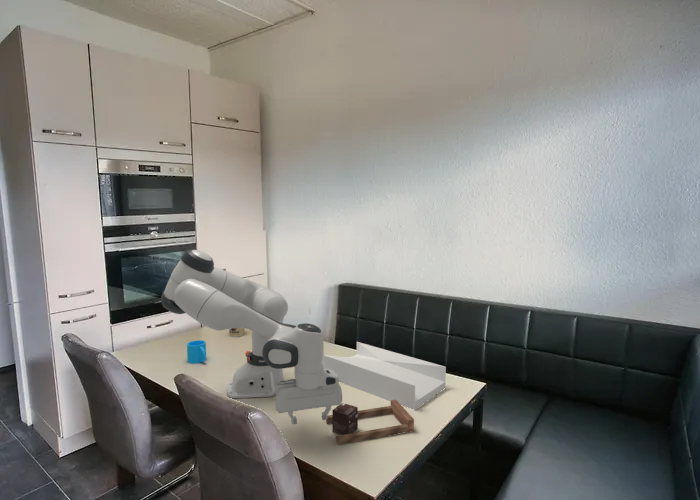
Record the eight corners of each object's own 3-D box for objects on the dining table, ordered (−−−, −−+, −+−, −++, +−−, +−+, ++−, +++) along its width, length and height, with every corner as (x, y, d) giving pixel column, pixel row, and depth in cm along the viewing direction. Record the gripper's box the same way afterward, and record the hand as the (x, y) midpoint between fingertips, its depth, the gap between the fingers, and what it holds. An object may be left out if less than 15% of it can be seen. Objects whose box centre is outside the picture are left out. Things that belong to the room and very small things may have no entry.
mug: (184, 360, 188) (183, 343, 187) (201, 355, 194) (200, 339, 193) (196, 367, 180) (196, 349, 179) (213, 362, 186) (213, 344, 185)
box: (348, 438, 125) (348, 415, 125) (331, 432, 129) (331, 409, 128) (358, 428, 130) (358, 406, 130) (342, 423, 134) (342, 402, 133)
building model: (445, 390, 159) (445, 366, 158) (414, 411, 142) (415, 385, 141) (356, 361, 188) (356, 341, 187) (322, 376, 172) (322, 354, 171)
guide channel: (337, 445, 122) (337, 432, 121) (325, 421, 135) (325, 409, 134) (413, 431, 129) (414, 419, 129) (395, 410, 142) (395, 399, 142)
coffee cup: (225, 337, 222) (224, 315, 221) (232, 332, 231) (232, 311, 230) (241, 338, 220) (240, 316, 219) (248, 332, 230) (247, 311, 228)
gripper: (275, 385, 118) (276, 431, 119) (344, 377, 124) (343, 421, 125) (273, 377, 124) (274, 420, 125) (338, 370, 130) (338, 411, 131)
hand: (309, 421), depth 125 cm, fingers open, 8 cm apart
